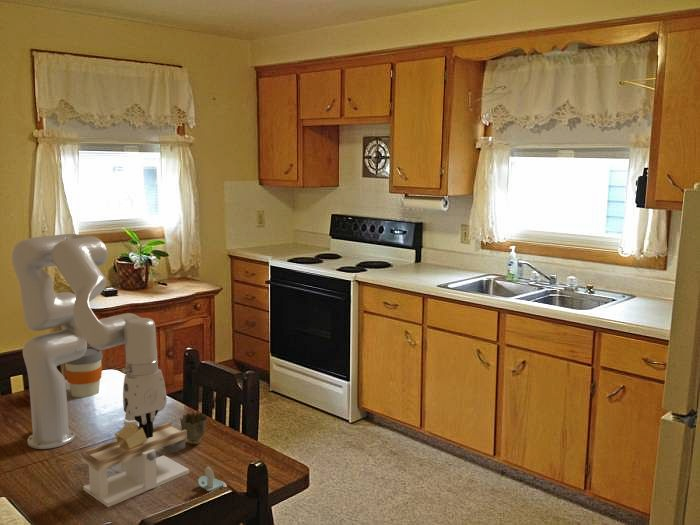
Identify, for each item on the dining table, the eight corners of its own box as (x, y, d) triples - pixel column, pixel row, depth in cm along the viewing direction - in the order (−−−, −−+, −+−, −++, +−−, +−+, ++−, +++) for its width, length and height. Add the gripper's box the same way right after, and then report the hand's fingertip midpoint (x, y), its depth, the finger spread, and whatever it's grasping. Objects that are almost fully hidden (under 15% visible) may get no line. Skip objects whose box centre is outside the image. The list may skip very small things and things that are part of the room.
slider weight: (119, 446, 166) (114, 434, 164) (136, 434, 169) (131, 422, 168) (131, 452, 163) (125, 439, 161) (147, 440, 166) (142, 427, 164)
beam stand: (110, 508, 156) (108, 469, 154) (81, 488, 165) (79, 451, 163) (191, 474, 173) (190, 438, 171) (161, 457, 182) (160, 423, 180)
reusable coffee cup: (80, 402, 221) (77, 359, 218) (58, 394, 228) (55, 352, 225) (112, 391, 231) (109, 350, 229) (89, 383, 238) (87, 343, 235)
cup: (200, 450, 187) (200, 423, 185) (176, 447, 188) (175, 421, 187) (211, 438, 194) (210, 413, 193) (188, 436, 195) (187, 411, 194)
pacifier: (215, 479, 171) (195, 487, 166) (215, 457, 170) (195, 464, 165) (232, 489, 166) (212, 498, 161) (232, 466, 165) (212, 473, 161)
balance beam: (98, 483, 156) (97, 462, 155) (82, 472, 161) (80, 452, 160) (187, 448, 175) (186, 430, 174) (170, 439, 180) (169, 421, 179)
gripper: (123, 378, 158) (128, 450, 160) (176, 363, 169) (180, 430, 172) (107, 372, 162) (112, 442, 165) (159, 357, 174) (163, 424, 176)
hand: (146, 436), depth 168 cm, fingers closed
